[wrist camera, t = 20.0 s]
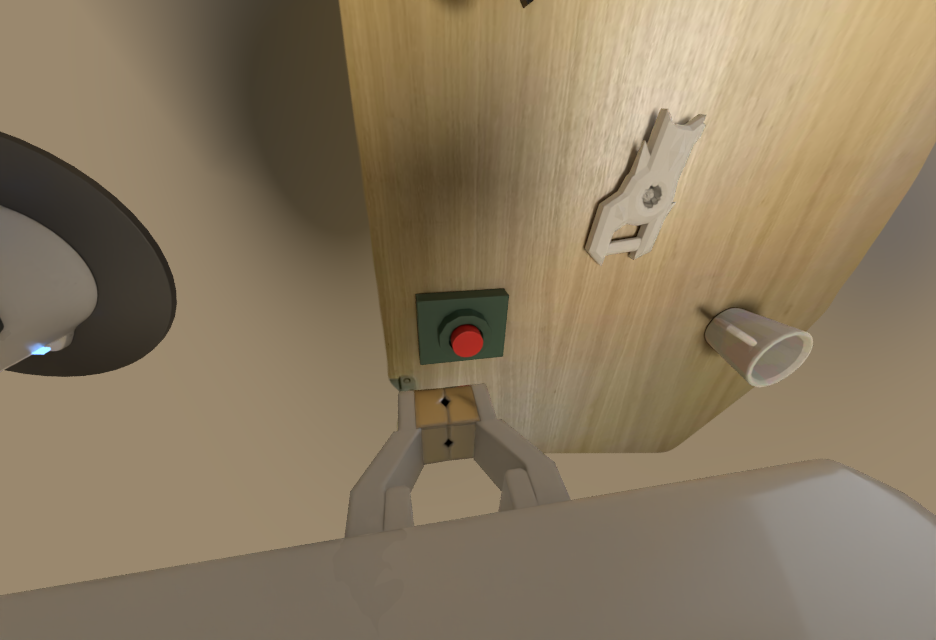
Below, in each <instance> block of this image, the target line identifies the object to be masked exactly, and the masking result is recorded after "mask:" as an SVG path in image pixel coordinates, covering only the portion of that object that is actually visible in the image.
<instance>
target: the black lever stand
mask: <svg viewBox="0 0 936 640" xmlns="http://www.w3.org/2000/svg"><path fill="white" fill-rule="evenodd" d="M532 1H533V0H521V3H522V5H523V8H524V7H526V6H527V5H528V4H529V3H531V2H532Z"/></svg>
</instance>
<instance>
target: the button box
mask: <svg viewBox="0 0 936 640" xmlns="http://www.w3.org/2000/svg"><path fill="white" fill-rule="evenodd" d="M508 300H509V295H508V294H507V292H506V291H505V289H490V290H474V291H459V292H443V293H428V294H416V308H417V324H418V341H419V356H420V364H421V365H426V364H435V363H445V362H455V361H464V360H474V359H483V358H493V357H503V350H504V340H505V330H506V320H507V310H508ZM461 325H473V326H475V327H476V328H477V329H478V330H479V332H480V334H481V336H482V339H483V346H482V348H481V350H480V351H479V352H478V353H477V354H475V355H474V356H471V357H461V356H459V355H457V354H456V353H455V352H454V351H453V348H452V344H451V334H452V332H453V331H454V330H455V329H456V328H457V327H459V326H461Z"/></svg>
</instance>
